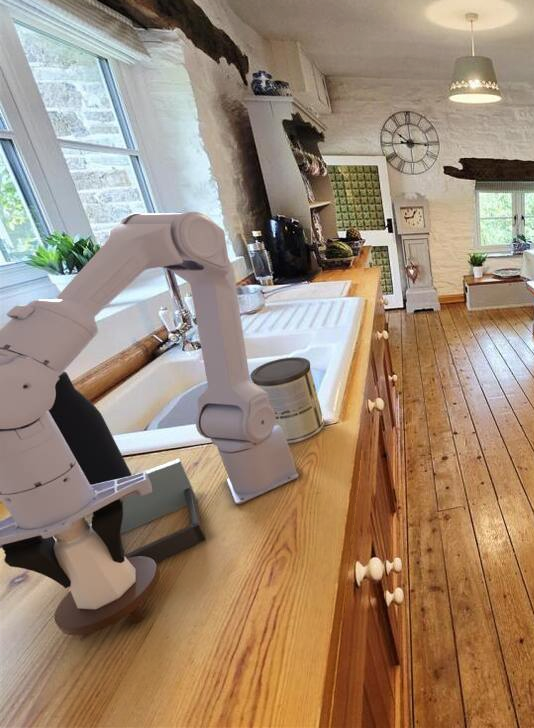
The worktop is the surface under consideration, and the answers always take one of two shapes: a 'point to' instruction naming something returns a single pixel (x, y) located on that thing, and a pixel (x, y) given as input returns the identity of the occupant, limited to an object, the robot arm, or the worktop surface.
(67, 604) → the stool
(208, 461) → the worktop surface
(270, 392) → the coffee can
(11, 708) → the worktop surface
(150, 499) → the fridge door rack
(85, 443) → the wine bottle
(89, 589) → the salt shaker
